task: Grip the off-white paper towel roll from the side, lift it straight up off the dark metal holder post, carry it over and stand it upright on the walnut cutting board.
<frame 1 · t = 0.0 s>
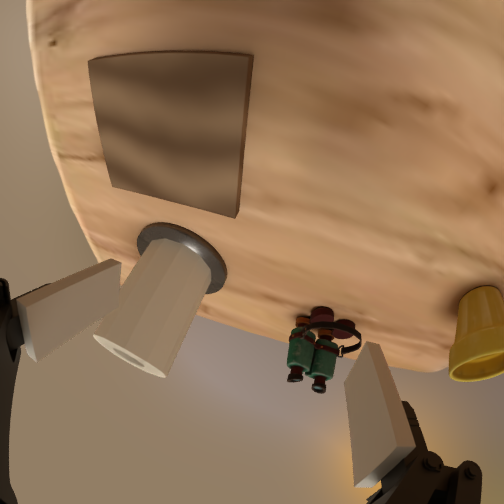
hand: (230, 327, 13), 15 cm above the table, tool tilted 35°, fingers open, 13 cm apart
binoculars: (329, 318, 39), on the table
cutting board: (164, 129, 23), on the table
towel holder: (181, 259, 39), on the table
plant pot: (478, 299, 26), on the table
towel roll: (178, 264, 38), point 1 cm above the table, touching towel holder
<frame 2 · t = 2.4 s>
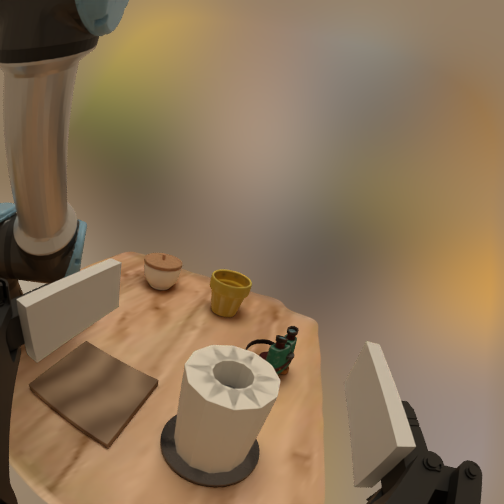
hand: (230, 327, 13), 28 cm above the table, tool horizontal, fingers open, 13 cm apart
binoculars: (263, 369, 53), on the table
cutting board: (93, 389, 34), on the table
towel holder: (209, 447, 31), on the table
plant pot: (223, 311, 72), on the table
lidded jar: (159, 285, 75), on the table
towel roll: (210, 444, 31), point 1 cm above the table, touching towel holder
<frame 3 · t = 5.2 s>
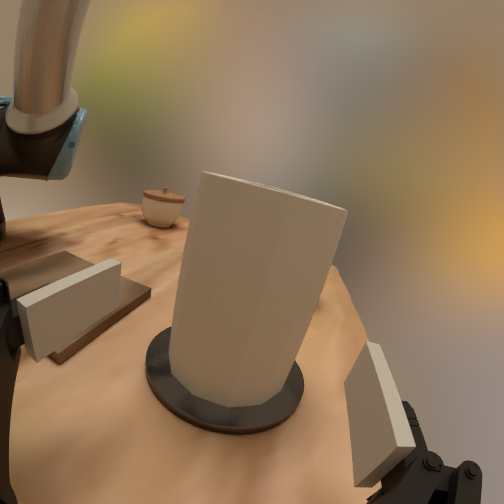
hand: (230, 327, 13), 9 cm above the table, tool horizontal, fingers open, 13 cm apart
cutting board: (60, 296, 25), on the table
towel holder: (225, 372, 23), on the table
lidded jar: (158, 224, 66), on the table
towel roll: (227, 364, 22), point 1 cm above the table, touching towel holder
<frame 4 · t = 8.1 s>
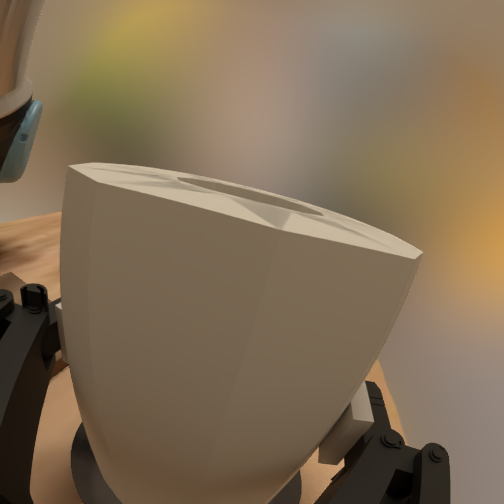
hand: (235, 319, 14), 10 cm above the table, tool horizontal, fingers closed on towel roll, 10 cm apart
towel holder: (186, 470, 12), on the table
towel roll: (187, 464, 12), point 1 cm above the table, touching gripper, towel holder
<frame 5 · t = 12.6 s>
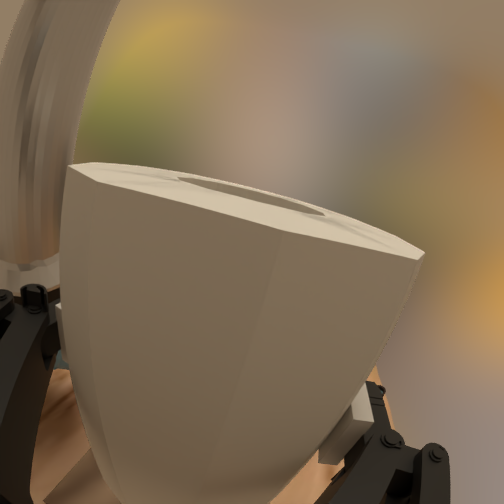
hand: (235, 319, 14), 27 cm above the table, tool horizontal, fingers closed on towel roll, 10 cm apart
cutting board: (135, 501, 18), on the table
towel roll: (187, 464, 12), point 19 cm above the table, touching gripper
when the fingers open (11 cm above the table, at t = 17.1 s): towel roll drops 1 cm, resting on cutting board.
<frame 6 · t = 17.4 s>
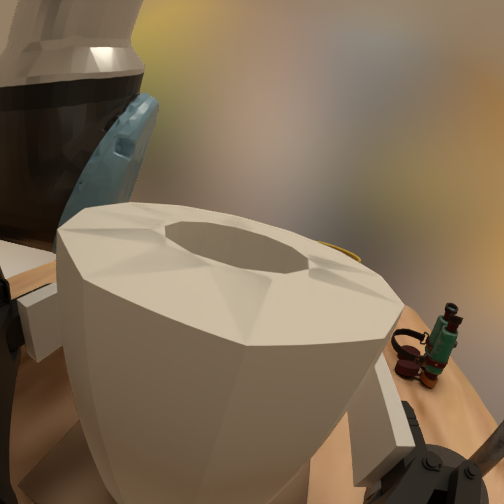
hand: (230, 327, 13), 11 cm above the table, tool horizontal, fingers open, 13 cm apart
binoculars: (409, 369, 32), on the table
cutting board: (184, 479, 13), on the table
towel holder: (431, 503, 10), on the table
towel roll: (184, 474, 12), point 1 cm above the table, touching cutting board
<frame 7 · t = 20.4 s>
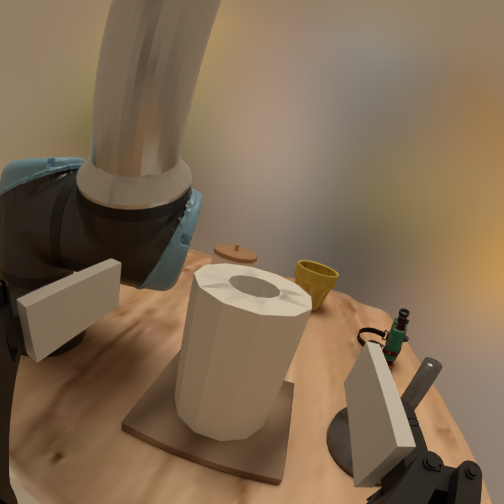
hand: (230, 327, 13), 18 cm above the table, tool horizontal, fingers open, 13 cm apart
binoculars: (372, 358, 46), on the table
cutting board: (219, 411, 27), on the table
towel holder: (376, 443, 25), on the table
plant pot: (305, 305, 66), on the table
lidded jar: (228, 281, 69), on the table
towel roll: (220, 406, 27), point 1 cm above the table, touching cutting board
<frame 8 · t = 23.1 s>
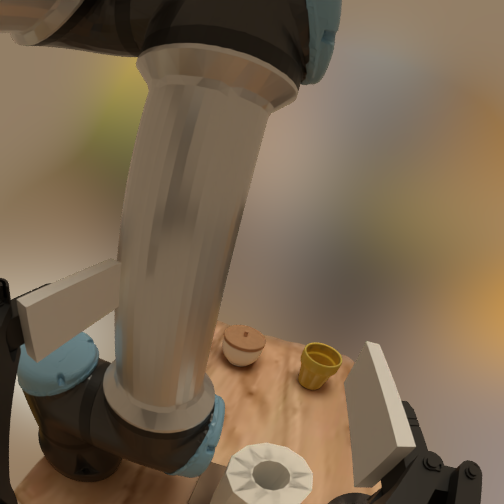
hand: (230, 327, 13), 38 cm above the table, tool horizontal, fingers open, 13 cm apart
plant pot: (309, 382, 65), on the table
lidded jar: (238, 359, 69), on the table
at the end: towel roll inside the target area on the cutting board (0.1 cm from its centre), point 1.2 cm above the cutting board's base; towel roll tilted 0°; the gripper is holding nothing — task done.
